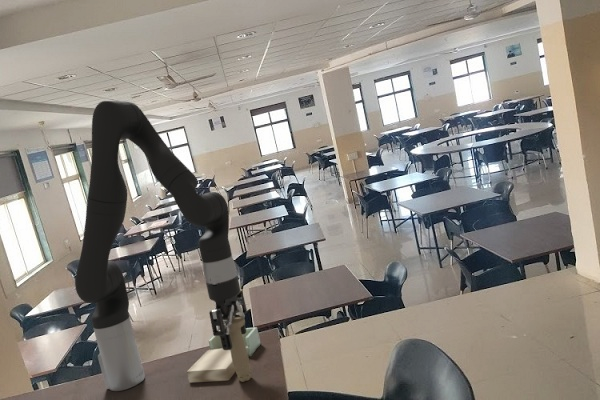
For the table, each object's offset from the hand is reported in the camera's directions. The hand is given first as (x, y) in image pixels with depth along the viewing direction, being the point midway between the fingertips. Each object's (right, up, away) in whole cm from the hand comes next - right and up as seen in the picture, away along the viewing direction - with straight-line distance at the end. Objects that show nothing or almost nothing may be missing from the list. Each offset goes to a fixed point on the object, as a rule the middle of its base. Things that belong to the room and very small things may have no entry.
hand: (235, 341), depth 123 cm
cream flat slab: (-5, -10, +10) cm, 15 cm away
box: (-2, -8, +20) cm, 21 cm away
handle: (+2, -10, +1) cm, 10 cm away
